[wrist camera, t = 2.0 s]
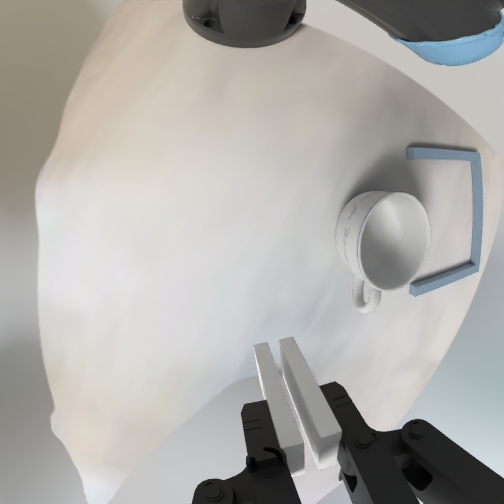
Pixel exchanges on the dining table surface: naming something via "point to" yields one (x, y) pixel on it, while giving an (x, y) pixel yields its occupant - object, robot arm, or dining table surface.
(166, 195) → the dining table surface
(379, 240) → the teacup
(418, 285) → the tray frame
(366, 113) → the dining table surface
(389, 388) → the dining table surface
